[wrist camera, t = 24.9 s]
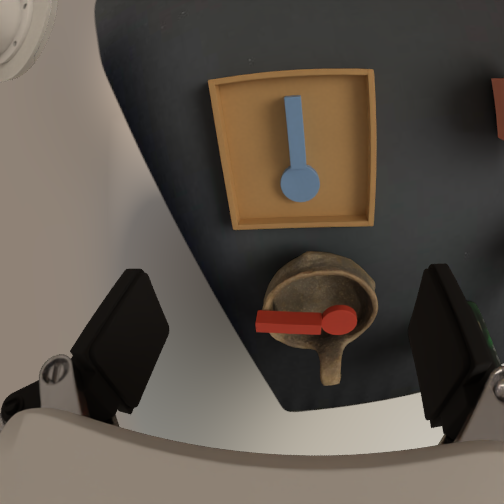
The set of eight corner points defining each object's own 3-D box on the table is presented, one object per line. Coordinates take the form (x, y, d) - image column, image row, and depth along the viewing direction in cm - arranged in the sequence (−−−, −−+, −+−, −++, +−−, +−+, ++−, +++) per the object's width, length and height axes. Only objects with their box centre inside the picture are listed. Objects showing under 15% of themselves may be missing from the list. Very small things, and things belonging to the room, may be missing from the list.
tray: (236, 221, 35) (233, 230, 34) (213, 79, 27) (207, 80, 25) (370, 217, 32) (373, 226, 31) (369, 69, 24) (373, 69, 22)
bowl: (367, 226, 33) (385, 283, 25) (373, 329, 42) (381, 386, 34) (252, 245, 37) (236, 303, 29) (284, 340, 46) (277, 396, 38)
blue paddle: (271, 96, 26) (269, 98, 25) (313, 94, 26) (314, 95, 24) (282, 199, 32) (281, 207, 31) (320, 198, 32) (320, 206, 30)
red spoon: (259, 326, 35) (256, 339, 33) (257, 301, 33) (254, 314, 31) (353, 329, 33) (354, 342, 32) (359, 304, 31) (361, 318, 29)
